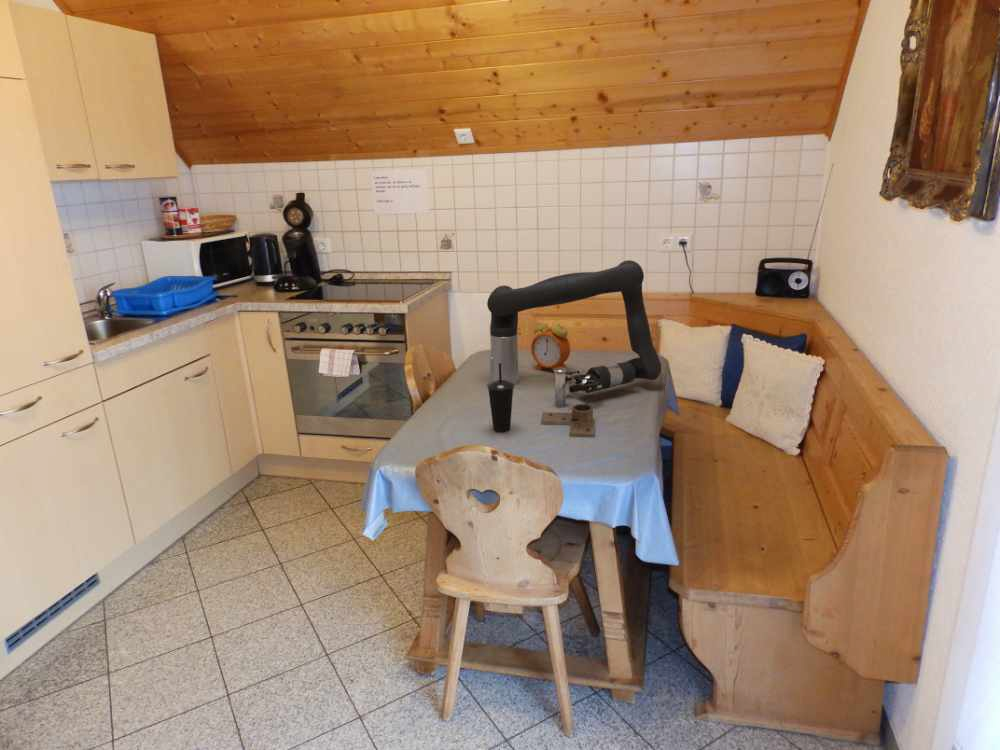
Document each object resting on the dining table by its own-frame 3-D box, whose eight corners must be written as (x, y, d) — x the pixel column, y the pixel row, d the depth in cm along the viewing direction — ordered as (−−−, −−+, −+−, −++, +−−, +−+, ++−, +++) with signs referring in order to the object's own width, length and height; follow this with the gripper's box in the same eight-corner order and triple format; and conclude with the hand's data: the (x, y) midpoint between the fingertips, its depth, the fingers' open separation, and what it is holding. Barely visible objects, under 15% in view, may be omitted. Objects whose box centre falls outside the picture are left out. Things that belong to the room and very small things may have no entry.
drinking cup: (506, 436, 190) (504, 369, 184) (483, 431, 194) (481, 365, 187) (520, 427, 196) (518, 361, 190) (497, 422, 200) (495, 358, 194)
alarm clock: (530, 369, 247) (529, 316, 241) (539, 365, 252) (538, 312, 246) (562, 375, 240) (562, 320, 234) (570, 370, 245) (570, 316, 239)
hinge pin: (553, 407, 210) (553, 371, 206) (554, 403, 214) (554, 367, 210) (566, 407, 210) (566, 371, 206) (566, 403, 213) (566, 367, 209)
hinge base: (539, 435, 190) (538, 422, 188) (542, 415, 204) (542, 403, 203) (594, 437, 188) (594, 423, 186) (594, 416, 202) (594, 403, 201)
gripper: (592, 360, 222) (550, 368, 215) (618, 371, 210) (574, 380, 203) (592, 381, 224) (550, 390, 217) (618, 394, 212) (574, 403, 205)
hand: (562, 385), depth 210 cm, fingers open, 8 cm apart
